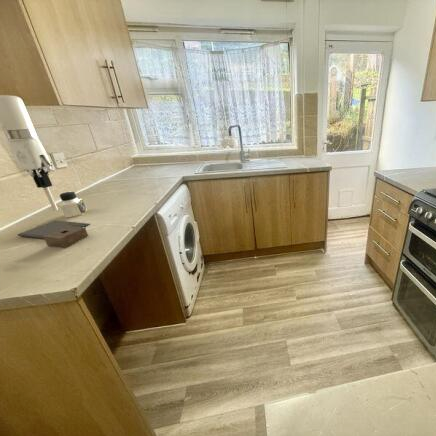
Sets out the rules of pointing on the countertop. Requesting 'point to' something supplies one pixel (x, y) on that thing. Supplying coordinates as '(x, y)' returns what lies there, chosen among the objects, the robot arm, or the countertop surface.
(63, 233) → the pen stand
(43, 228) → the plate
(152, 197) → the countertop surface
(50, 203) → the stylus
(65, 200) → the medicine bottle
